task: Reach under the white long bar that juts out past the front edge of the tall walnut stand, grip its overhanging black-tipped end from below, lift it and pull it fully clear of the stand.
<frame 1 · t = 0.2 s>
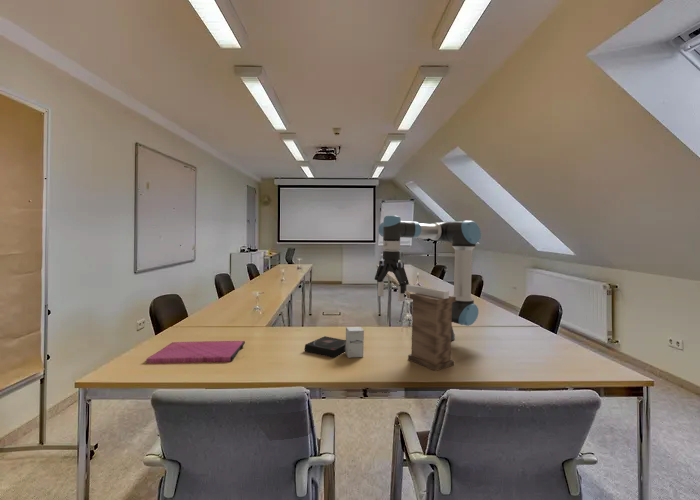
hand: (390, 298, 156), 28 cm above the table, tool pointing down, fingers open, 13 cm apart
portable cd player: (328, 351, 172), on the table
supplement box: (354, 355, 165), on the table
white long bar: (423, 294, 160), point 30 cm above the table, touching stand
stand: (430, 362, 157), on the table
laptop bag: (203, 353, 165), on the table
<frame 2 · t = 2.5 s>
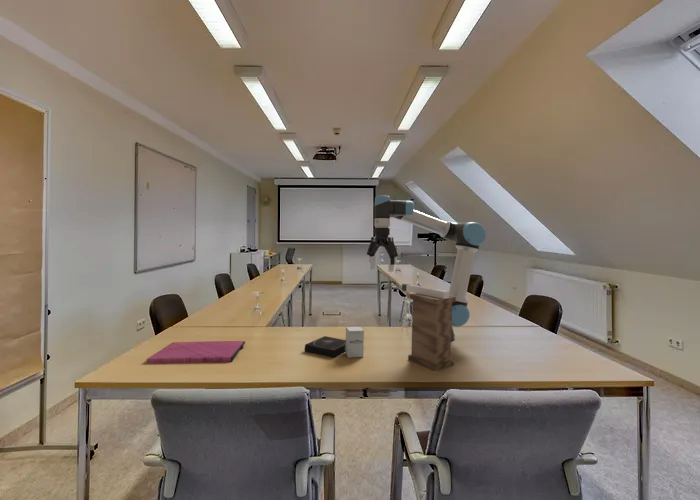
hand: (381, 270, 174), 39 cm above the table, tool pointing down, fingers open, 13 cm apart
nothing on the table moved.
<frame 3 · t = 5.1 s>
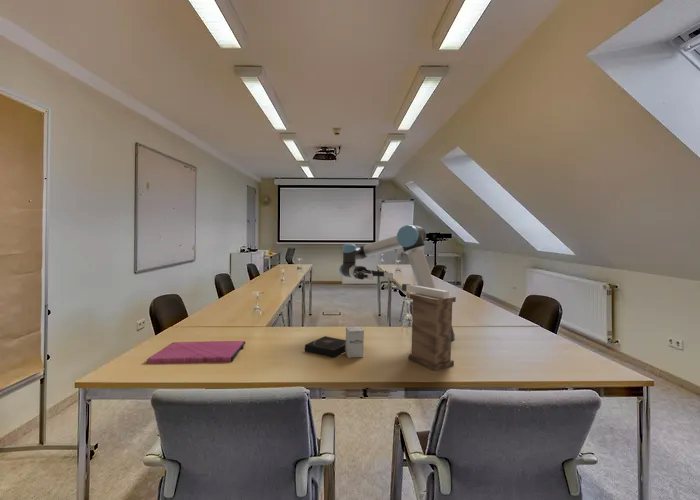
hand: (382, 276, 183), 35 cm above the table, tool horizontal, fingers open, 13 cm apart
nothing on the table moved.
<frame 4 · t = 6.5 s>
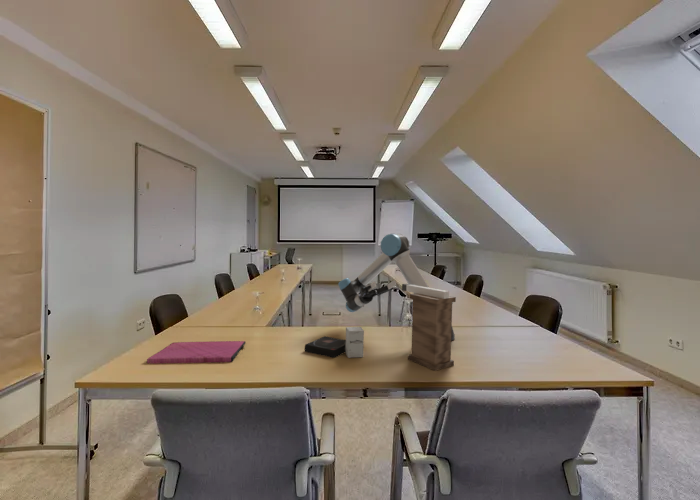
hand: (385, 283, 182), 32 cm above the table, tool pointing upward, fingers open, 13 cm apart
nothing on the table moved.
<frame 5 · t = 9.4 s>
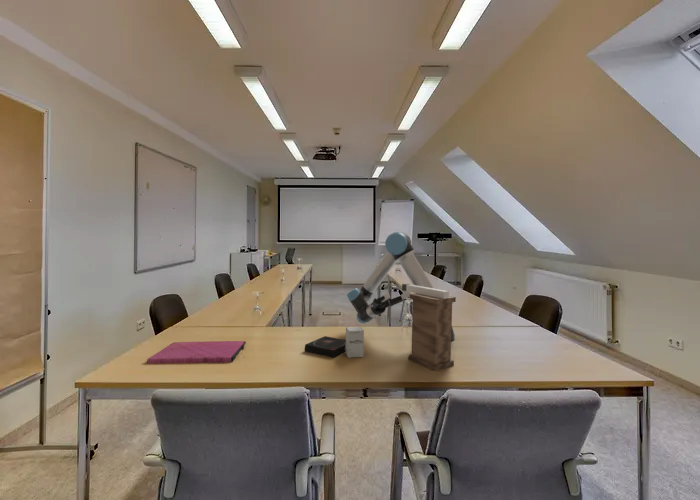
hand: (399, 293, 173), 28 cm above the table, tool pointing upward, fingers open, 13 cm apart
nothing on the table moved.
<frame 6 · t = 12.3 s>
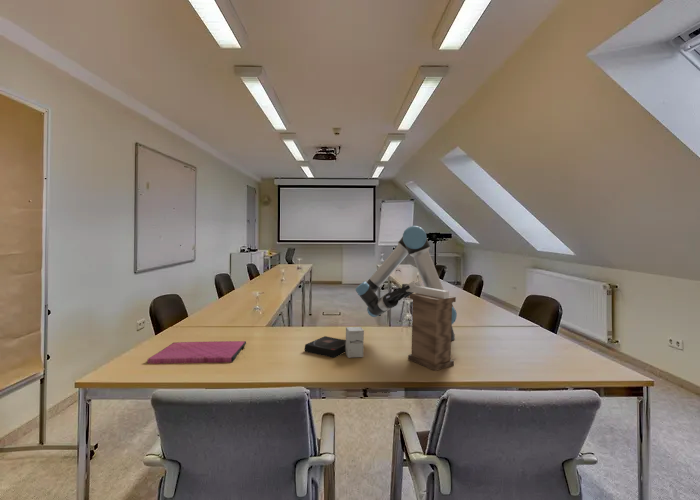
hand: (417, 283, 163), 34 cm above the table, tool pointing upward, fingers closed on white long bar, 3 cm apart
white long bar: (423, 294, 160), point 30 cm above the table, touching gripper, stand
everything else where it was.
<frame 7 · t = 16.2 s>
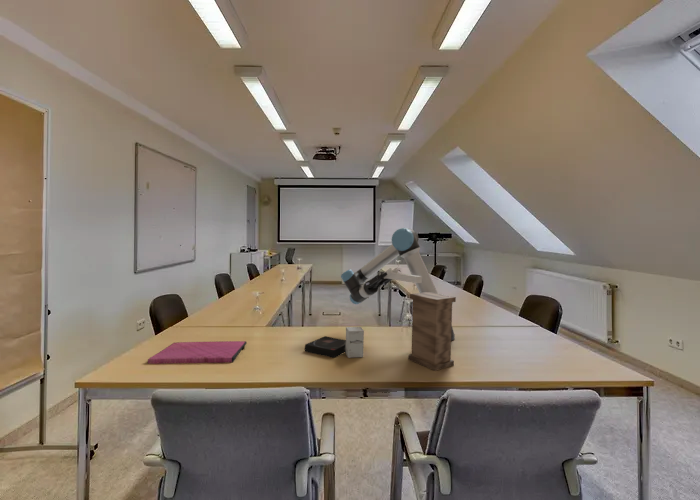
hand: (394, 270, 175), 39 cm above the table, tool pointing upward, fingers closed on white long bar, 3 cm apart
white long bar: (399, 280, 172), point 35 cm above the table, touching gripper
everything else where it was.
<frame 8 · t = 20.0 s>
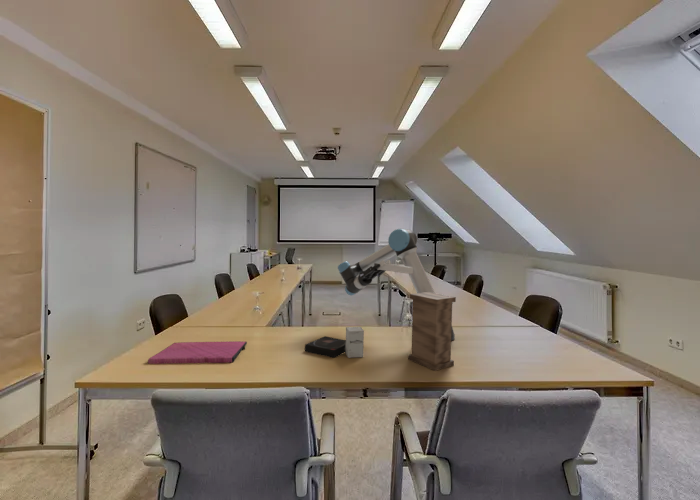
hand: (387, 262, 181), 43 cm above the table, tool pointing upward, fingers closed on white long bar, 3 cm apart
white long bar: (392, 271, 178), point 38 cm above the table, touching gripper
at the end: the gripper is holding white long bar; white long bar touching gripper; white long bar moved 23.6 cm from its start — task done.
